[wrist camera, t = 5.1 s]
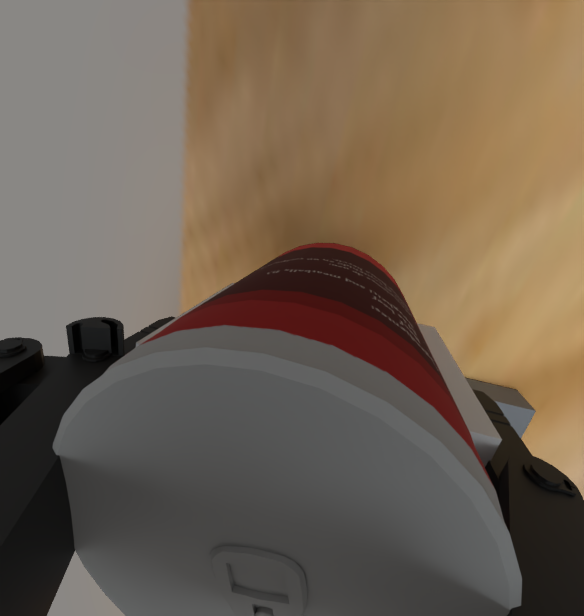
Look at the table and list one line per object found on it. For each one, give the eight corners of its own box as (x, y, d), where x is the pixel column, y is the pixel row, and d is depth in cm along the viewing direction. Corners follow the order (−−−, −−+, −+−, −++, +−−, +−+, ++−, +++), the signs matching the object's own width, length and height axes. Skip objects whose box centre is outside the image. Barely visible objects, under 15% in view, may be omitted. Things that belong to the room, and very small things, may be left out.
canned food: (285, 402, 17) (173, 697, 7) (228, 271, 15) (-44, 408, 5) (426, 373, 15) (575, 758, 4) (379, 213, 13) (450, 253, 3)
